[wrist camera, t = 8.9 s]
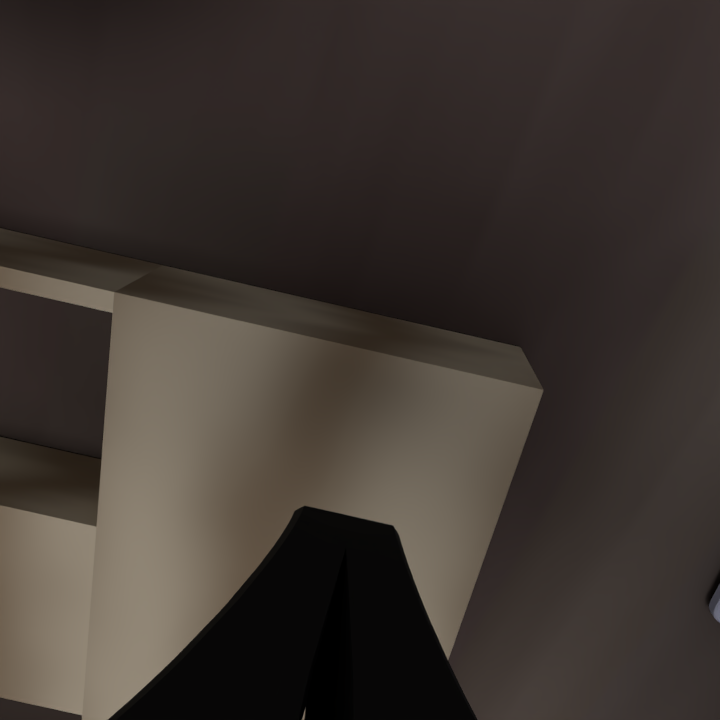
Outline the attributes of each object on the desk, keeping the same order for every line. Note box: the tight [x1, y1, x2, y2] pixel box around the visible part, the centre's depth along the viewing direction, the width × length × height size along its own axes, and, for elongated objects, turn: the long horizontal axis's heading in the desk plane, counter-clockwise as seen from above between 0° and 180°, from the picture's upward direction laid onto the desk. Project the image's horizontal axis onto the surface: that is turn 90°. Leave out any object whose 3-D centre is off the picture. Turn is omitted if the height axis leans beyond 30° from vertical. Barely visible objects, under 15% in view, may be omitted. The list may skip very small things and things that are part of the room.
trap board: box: [0, 228, 544, 720], centre depth 18 cm, size 22×20×4 cm
